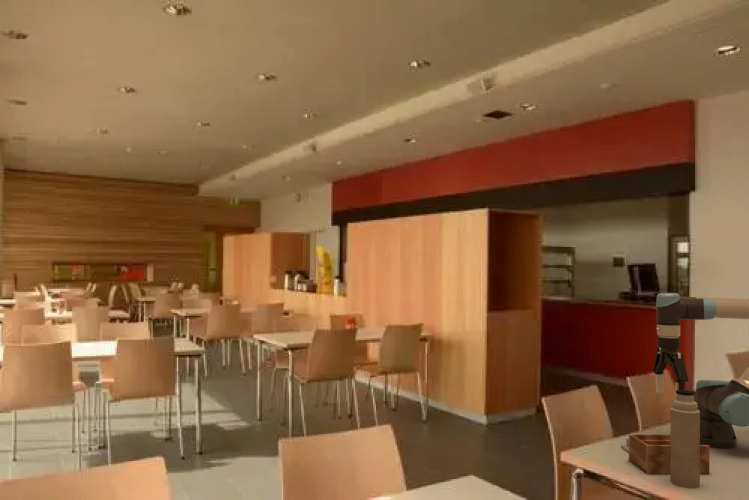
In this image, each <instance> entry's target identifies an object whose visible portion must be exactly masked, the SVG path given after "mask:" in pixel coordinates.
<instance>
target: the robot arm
mask: <svg viewBox="0 0 749 500" xmlns="http://www.w3.org/2000/svg"><path fill="white" fill-rule="evenodd" d="M655 303H656V304H655V308H656V328H655V329H656V334H657V337H656V346H657V347H656V348H655V356H654V359H653V364H652V367H651V371H652V372H654V375H655V393H657V394H659V393H662V394H663V393H665V375H664V374H665V373H664V371H665V369H666V367H667V365H668V366H670V368H671V369H672V372H673V375H674V379H675V381H674V383H675V388H674V389H675V391H676V390H685V383H686V382H689V376H688V373H687V369H686V365H685V361H684V354H683V352H678V350H679V349H681V347H682V346H681V338H680V337H681V321H684V320H687V321H689V320H692V321H693V320H695V321H697V320H698V321H699V320H700V321H705V320H713V319H736V320H738V319H739V320H749V298H729V297H707V296H706V297H704V296H703V297H702V296H701V297H700V296H682V295H680V294H679V293H677V292H660V293H658V294H657V295H656V302H655ZM695 385H696V386H695V390H694V391H695V402H696V403H697V406H698V407H697V409H698V410H699V411H700V445H709V447H712V448H723V449H725V448H727V449H728V448H729V449H730V448H736V447H737V445H738V439H737V435H736V432H735V430H734V427H733V426H736V427H739V428H740V427H741V428H743V427H749V366H748V367H747V368H746V369H745V370H744V372H742V374H741V375H740V377H739V378H732V379H731V380H730V381H728V380H716V379H715V380H714V379H701V380H700V379H699V380H698V381H697V382H696V383H695ZM676 395H677V393H676V392H675V396H676Z"/></svg>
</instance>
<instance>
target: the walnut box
mask: <svg viewBox="0 0 749 500" xmlns="http://www.w3.org/2000/svg"><path fill="white" fill-rule="evenodd" d="M628 439H629V453H628V462H630V463H631V464H632V465H634V466H635V467H636V468H637V469H639V470H641V472H643V473H644V474H646V475H648V476H649V475H651V476H652V475H657V476H658V475H660V476H661V475H666V476H668V475H669V476H670V465H671V433H670V434H669V433H668V434H667V433H666V434H665V433H660V434H658V433H657V434H656V433H655V434H654V433H653V434H652V433H651V434H650V433H645V434H644V433H641V434H640V433H639V434H636V433H635V434H634V433H632V434H631V433H630V434H628ZM700 475H710V446H709V445H702V444H700Z"/></svg>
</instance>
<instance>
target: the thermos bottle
mask: <svg viewBox="0 0 749 500" xmlns="http://www.w3.org/2000/svg"><path fill="white" fill-rule="evenodd" d="M676 393H677V395H676ZM694 395H695V393H694V391H692V390H688V389H687V390H686V389H684V390H676V389H675V399H674V400H673V401H672V404H671V405H672V406H671V407H670V434H671V465H670V475H669V476H670V477H669V478H670V483H672V484H673V485H675V486H677V485H678V487H682V488H686V487H688V489H696V488H699V487H700V486H701V484H700V483H701V476H700V445H701V444H700V411H699V410H698V409H697V407H698V406H697V403H696V400H695V396H694Z"/></svg>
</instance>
